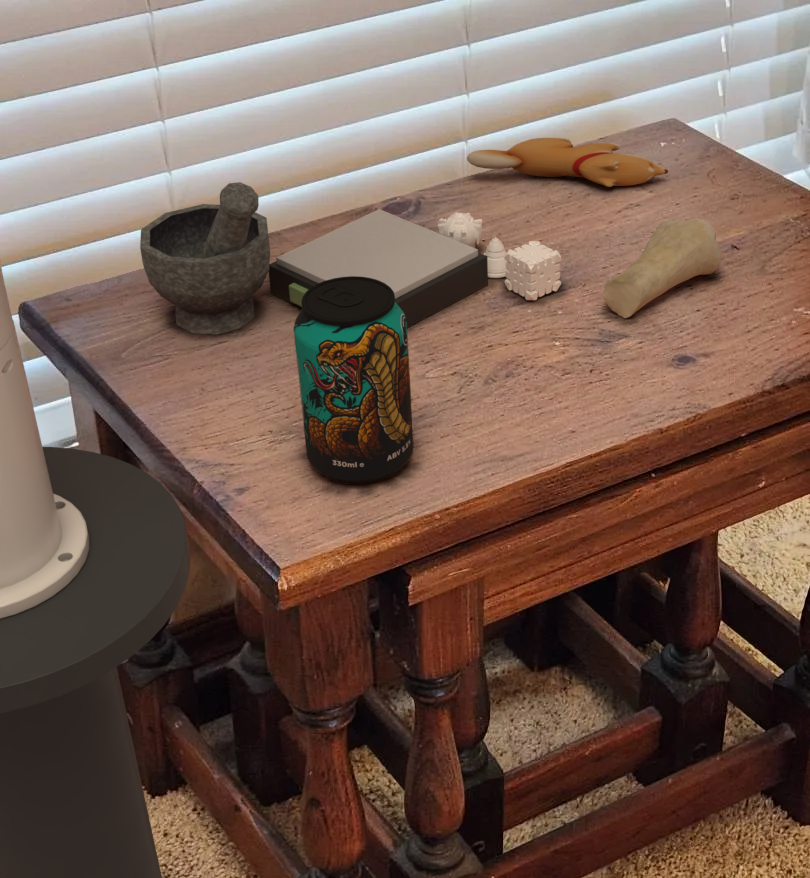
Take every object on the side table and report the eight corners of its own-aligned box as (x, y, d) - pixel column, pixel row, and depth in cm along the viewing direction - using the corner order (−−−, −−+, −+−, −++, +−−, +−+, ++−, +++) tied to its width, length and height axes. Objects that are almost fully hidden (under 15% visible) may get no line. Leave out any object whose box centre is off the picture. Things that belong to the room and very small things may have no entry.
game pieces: (562, 290, 119) (562, 252, 117) (529, 304, 118) (529, 266, 116) (463, 238, 127) (462, 201, 125) (432, 250, 126) (430, 214, 124)
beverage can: (365, 503, 98) (353, 338, 91) (285, 466, 102) (267, 305, 95) (435, 452, 103) (428, 290, 95) (356, 418, 106) (343, 260, 99)
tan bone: (659, 249, 124) (663, 193, 121) (734, 265, 121) (740, 208, 118) (600, 312, 116) (603, 254, 113) (679, 331, 114) (684, 272, 111)
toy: (661, 176, 137) (668, 197, 132) (465, 168, 137) (465, 189, 132) (666, 139, 135) (672, 159, 131) (467, 131, 135) (467, 151, 131)
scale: (371, 347, 114) (368, 310, 112) (265, 296, 121) (261, 260, 119) (488, 285, 121) (487, 248, 119) (381, 239, 128) (379, 204, 126)
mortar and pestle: (128, 315, 119) (102, 168, 112) (224, 272, 124) (206, 129, 117) (216, 367, 113) (195, 214, 105) (315, 319, 118) (301, 171, 110)
